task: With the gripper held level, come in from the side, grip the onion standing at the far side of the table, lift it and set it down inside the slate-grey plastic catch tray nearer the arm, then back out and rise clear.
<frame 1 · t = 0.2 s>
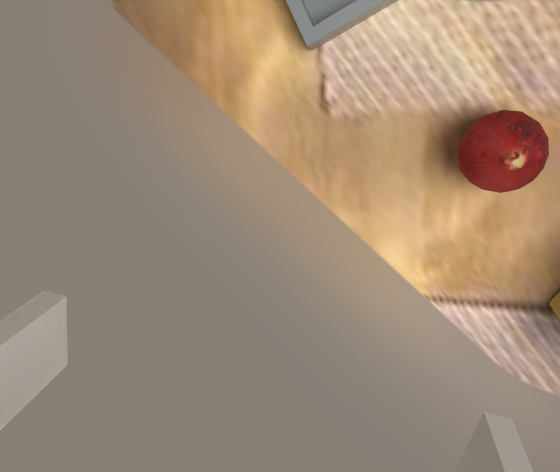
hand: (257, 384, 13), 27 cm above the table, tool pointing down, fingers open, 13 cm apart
onion: (489, 146, 35), on the table
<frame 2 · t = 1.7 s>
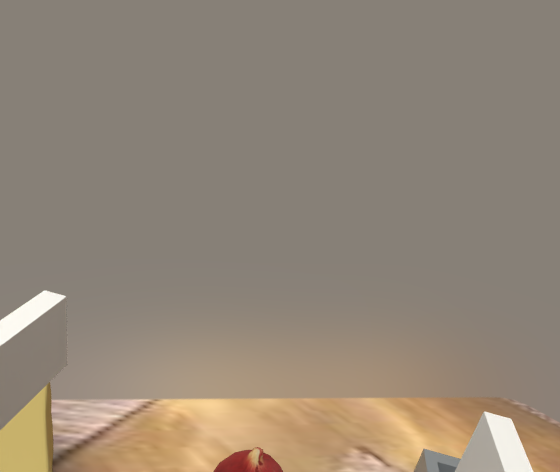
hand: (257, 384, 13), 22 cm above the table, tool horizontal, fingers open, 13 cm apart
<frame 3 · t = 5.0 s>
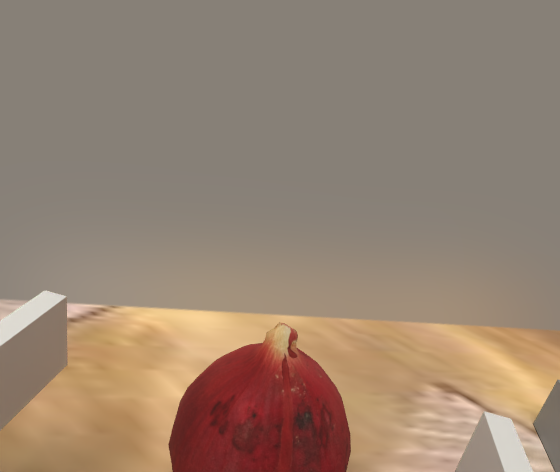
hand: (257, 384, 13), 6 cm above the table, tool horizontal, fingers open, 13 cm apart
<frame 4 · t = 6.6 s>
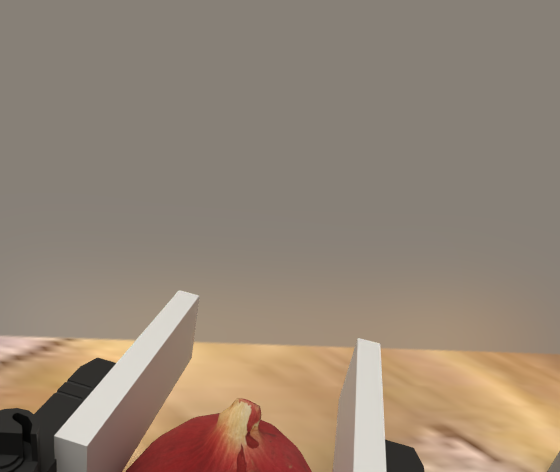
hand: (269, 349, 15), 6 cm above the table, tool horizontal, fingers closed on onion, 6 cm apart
when the fingers open (8 cm above the table, at t = 11.8 s): onion stays where it is, resting on catch tray.
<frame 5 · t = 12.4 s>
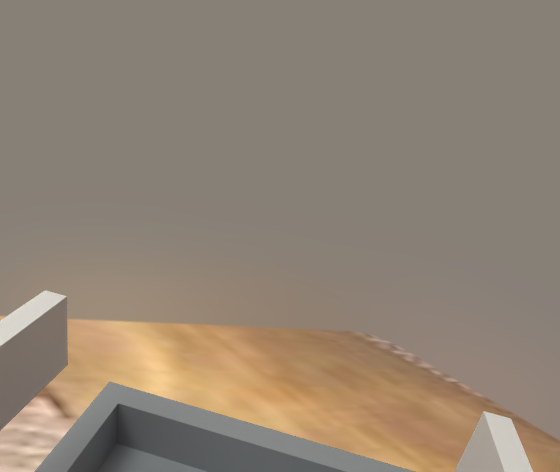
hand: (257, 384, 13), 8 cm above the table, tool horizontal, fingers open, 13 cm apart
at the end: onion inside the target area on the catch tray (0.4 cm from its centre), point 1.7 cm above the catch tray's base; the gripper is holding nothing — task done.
